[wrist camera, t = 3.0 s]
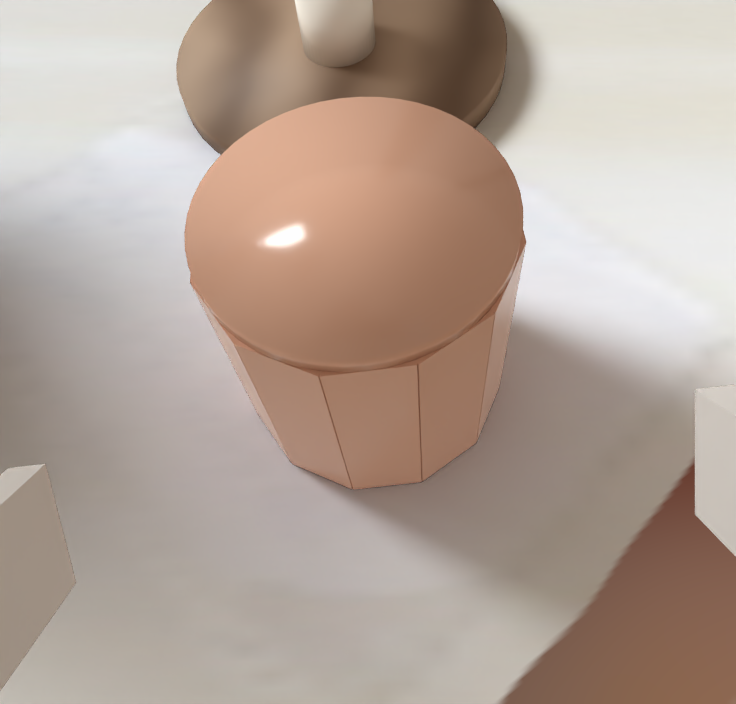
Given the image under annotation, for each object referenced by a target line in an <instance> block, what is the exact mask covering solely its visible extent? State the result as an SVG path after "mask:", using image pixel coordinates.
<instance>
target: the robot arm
mask: <svg viewBox="0 0 736 704" xmlns="http://www.w3.org/2000/svg"><path fill="white" fill-rule="evenodd" d="M695 515H696V516H697V517H698V518H699V519H700V520H701V521H702V522H703V523H704V524H705V525H706V526H707V527H708V528H709V529H710V530H711V532H712V533H713V534H714V535H715V536H716V537H717V538H718V539H719V540H720V541H721V542H722V543H723V544H724V545H725V546H726V547H727V548H728V549H729V550H730V551H731V552H732V553H733V554H734V555H735V556H736V386H735V385H726V386H718V387H709V388H700V389H695ZM75 584H76V580H75V576H74V572H73V568H72V565H71V561H70V557H69V553H68V549H67V545H66V541H65V537H64V534H63V530H62V526H61V522H60V518H59V514H58V510H57V506H56V502H55V499H54V495H53V491H52V487H51V483H50V479H49V475H48V471H47V468H46V464H39V465H30V466H21V467H13V468H8V469H7V470H6V471H4V472H3V473H2V474H1V475H0V691H1V689H2V688H3V686H4V685H5V684H6V682H7V681H8V679H9V678H10V676H11V675H12V674H13V672H14V671H15V669H16V668H17V666H18V665H19V664H20V662H21V661H22V659H23V658H24V656H25V655H26V654H27V652H28V651H29V649H30V648H31V646H32V645H33V644H34V642H35V641H36V639H37V638H38V636H39V635H40V634H41V632H42V631H43V629H44V628H45V627H46V625H47V624H48V622H49V621H50V619H51V618H52V617H53V615H54V614H55V612H56V611H57V609H58V608H59V607H60V605H61V604H62V602H63V601H64V599H65V598H66V597H67V595H68V594H69V592H70V591H71V589H72V588H73V587H74V585H75Z"/></svg>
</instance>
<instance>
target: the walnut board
mask: <svg viewBox="0 0 736 704" xmlns="http://www.w3.org/2000/svg"><path fill="white" fill-rule="evenodd" d="M372 2H373V14H374V27H375V40H376V42H375V46H374V49H373V51H372V52H371V53H370V54H369V55H368V56H367V57H366V58H365V59H363V60H361V61H360V62H358V63H355V64H353V65H349V66H345V67H325V66H321V65H318V64H316V63H314V62H312V61H311V60H310V59H308V57H307V56H306V55H305V53H304V49H303V43H302V38H301V33H300V27H299V22H298V16H297V11H296V5H295V0H212V1H211V2H210V3H209V4H208V5H207V6H206V7H205V8H204V9H203V10H202V11H201V12H200V14H199V15H198V16H197V17H196V19H195V20H194V21H193V23H192V24H191V26H190V27H189V29H188V31H187V33H186V34H185V36H184V38H183V41H182V44H181V46H180V49H179V53H178V59H177V81H178V86H179V90H180V93H181V96H182V99H183V101H184V104H185V107H186V109H187V112H188V114H189V116H190V118H191V121H192V123H193V125H194V127H195V128H196V129H197V131H198V132H199V134H200V135H201V136H202V138H203V139H204V140H205V141H206V142H207V143H208V144H209V145H210V146H211V147H212V148H213V149H214V150H216V151H217V152H218V153H220V154H221V155H222V154H223V153H224V152H225V151H226V150H227V149H228V148H229V147H230V146H231V145H232V144H233V143H234V142H236V141H237V140H238V139H240V138H241V137H243V136H244V135H245V134H247V133H248V132H249V131H251V130H253V129H254V128H256V127H258V126H259V125H261V124H263V123H264V122H266V121H268V120H270V119H272V118H274V117H277V116H279V115H281V114H283V113H286V112H288V111H291V110H294V109H297V108H299V107H302V106H306V105H310V104H314V103H317V102H321V101H327V100H333V99H339V98H350V97H385V98H395V99H402V100H407V101H412V102H417V103H420V104H424V105H427V106H430V107H434V108H436V109H439V110H441V111H444V112H446V113H448V114H451V115H453V116H455V117H456V118H458V119H460V120H462V121H464V122H465V123H467V124H469V125H470V126H471V127H473V128H475V127H476V126H477V125H478V124H479V123H480V122H481V120H482V119H483V118H484V117H485V116H486V115H487V113H488V111H489V110H490V108H491V107H492V105H493V104H494V102H495V100H496V98H497V95H498V93H499V91H500V88H501V85H502V80H503V76H504V70H505V61H506V51H507V34H506V29H505V24H504V21H503V18H502V16H501V14H500V11H499V9H498V7H497V6H496V4H495V3H494V1H493V0H372Z"/></svg>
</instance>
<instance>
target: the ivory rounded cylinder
mask: <svg viewBox="0 0 736 704" xmlns="http://www.w3.org/2000/svg"><path fill="white" fill-rule="evenodd" d="M295 5H296V11H297V16H298V22H299V27H300V33H301V38H302V43H303V49H304V53H305V55H306V56H307V57H308V59H310V60H311V61H312V62H314V63H316V64H318V65H321V66H325V67H345V66H349V65H353V64H355V63H358V62H360V61H361V60H363V59H365V58H366V57H367V56H368V55H369V54H370V53H371V52H372V51H373V49H374V46H375V42H376V40H375V27H374V14H373V2H372V0H295Z"/></svg>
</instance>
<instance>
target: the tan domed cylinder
mask: <svg viewBox="0 0 736 704" xmlns="http://www.w3.org/2000/svg"><path fill="white" fill-rule="evenodd" d="M525 246H526V239H525V235H524V231H523V205H522V200H521V194H520V190H519V187H518V184H517V182H516V179H515V176H514V174H513V172H512V170H511V169H510V167H509V165H508V163H507V162H506V160H505V159H504V157H503V156H502V155H501V154H500V152H499V151H498V150H497V148H496V147H495V146H494V145H493V144H492V143H491V142H490V141H489V140H488V139H487V138H486V137H485V136H483V135H482V134H481V133H480V132H478V131H477V130H476V129H474V128H473V127H471V126H470V125H469V124H467V123H465V122H464V121H462V120H460V119H458V118H456V117H455V116H453V115H451V114H448V113H446V112H444V111H441V110H439V109H436V108H434V107H430V106H427V105H424V104H420V103H417V102H412V101H407V100H402V99H395V98H385V97H350V98H339V99H333V100H327V101H321V102H317V103H314V104H310V105H306V106H302V107H299V108H297V109H294V110H291V111H288V112H286V113H283V114H281V115H279V116H277V117H274V118H272V119H270V120H268V121H266V122H264V123H263V124H261V125H259V126H258V127H256V128H254V129H253V130H251V131H249V132H248V133H247V134H245V135H244V136H243V137H241V138H240V139H238V140H237V141H236V142H234V143H233V144H232V145H231V146H230V147H229V148H228V149H227V150H226V151H225V152H224V153H223V154H222V155H221V156H220V157H219V158H218V159H217V160H216V161H215V163H214V164H213V165H212V166H211V167H210V168H209V170H208V171H207V173H206V174H205V176H204V177H203V179H202V181H201V182H200V184H199V186H198V188H197V190H196V192H195V194H194V196H193V198H192V201H191V204H190V207H189V211H188V214H187V219H186V226H185V252H186V257H187V262H188V267H189V269H190V272H191V276H190V283H191V286H192V288H193V289H194V291H195V293H196V295H197V297H198V299H199V301H200V303H201V305H202V307H203V309H204V311H205V313H206V315H207V317H208V319H209V320H210V322H211V324H212V326H213V328H214V330H215V332H216V334H217V336H218V338H219V340H220V342H221V344H222V346H223V348H224V350H225V351H226V353H227V355H228V357H229V359H230V361H231V363H232V365H233V367H234V369H235V371H236V373H237V375H238V377H239V379H240V381H241V382H242V384H243V386H244V388H245V390H246V392H247V394H248V396H249V398H250V400H251V402H252V404H253V406H254V408H255V410H256V412H257V413H258V415H259V417H260V418H261V420H262V421H263V423H264V424H265V425H266V427H267V428H268V430H269V431H270V433H271V434H272V436H273V437H274V438H275V440H276V441H277V443H278V444H279V446H280V447H281V449H282V450H283V451H284V453H285V454H286V456H287V457H288V459H289V460H290V462H291V463H292V464H294V465H296V466H298V467H301V468H303V469H305V470H308V471H310V472H312V473H315V474H317V475H319V476H322V477H324V478H326V479H329V480H331V481H333V482H336V483H338V484H341V485H343V486H345V487H348V488H350V489H353V490H355V489H364V488H373V487H382V486H391V485H400V484H408V483H417V482H422V481H424V480H426V479H427V478H428V477H430V476H431V475H433V474H434V473H435V472H437V471H438V470H439V469H441V468H442V467H444V466H445V465H446V464H448V463H449V462H451V461H452V460H453V459H455V458H456V457H458V456H459V455H460V454H462V453H463V452H464V451H466V450H467V449H469V448H470V447H471V446H473V445H474V444H476V442H477V441H478V438H479V436H480V433H481V431H482V428H483V426H484V423H485V421H486V419H487V416H488V414H489V411H490V409H491V406H492V404H493V402H494V399H495V397H496V394H497V392H498V389H499V387H500V382H501V376H502V371H503V365H504V360H505V354H506V349H507V344H508V338H509V333H510V327H511V322H512V317H513V311H514V306H515V300H516V295H517V290H518V284H519V279H520V273H521V268H522V263H523V257H524V252H525Z"/></svg>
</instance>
